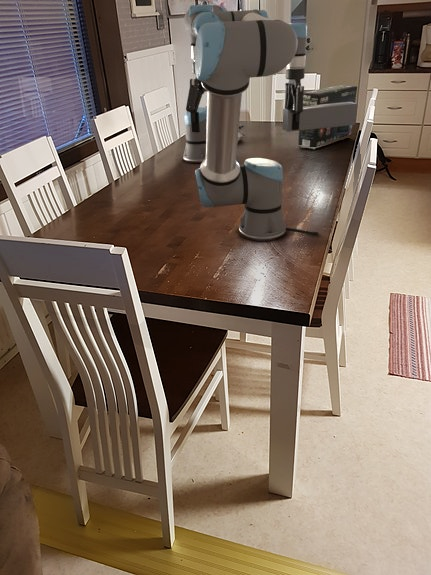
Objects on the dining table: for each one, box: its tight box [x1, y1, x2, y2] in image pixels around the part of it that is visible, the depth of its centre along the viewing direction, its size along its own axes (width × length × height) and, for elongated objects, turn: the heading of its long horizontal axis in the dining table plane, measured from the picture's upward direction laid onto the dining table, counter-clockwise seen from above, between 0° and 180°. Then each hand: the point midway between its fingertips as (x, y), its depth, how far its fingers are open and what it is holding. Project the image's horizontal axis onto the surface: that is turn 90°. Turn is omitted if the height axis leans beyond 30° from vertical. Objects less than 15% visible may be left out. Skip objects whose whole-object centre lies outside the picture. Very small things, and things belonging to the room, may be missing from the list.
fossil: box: [238, 129, 246, 142], centre depth 254 cm, size 18×11×15 cm
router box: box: [297, 84, 358, 151], centre depth 238 cm, size 36×11×27 cm, turn 134°
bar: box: [281, 102, 358, 133], centre depth 194 cm, size 31×6×8 cm, turn 105°
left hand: (292, 128), depth 194 cm, fingers closed on bar, 6 cm apart
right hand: (206, 128), depth 160 cm, fingers open, 13 cm apart
